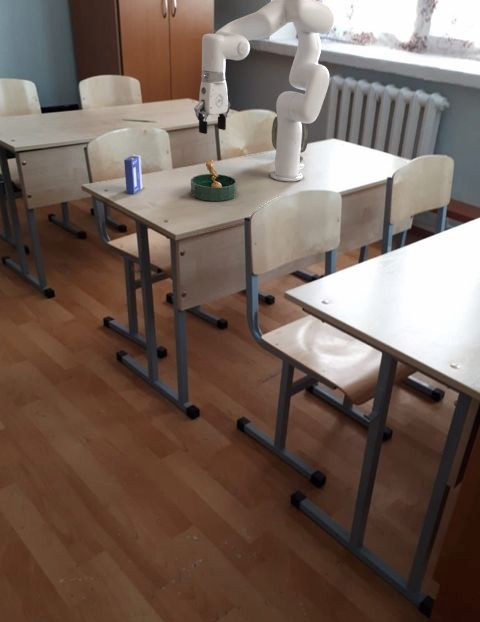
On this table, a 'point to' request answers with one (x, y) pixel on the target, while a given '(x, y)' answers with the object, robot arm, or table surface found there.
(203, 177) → the bowl
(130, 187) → the walkman
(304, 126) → the tabletop clock
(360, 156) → the table surface
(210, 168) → the figurine
